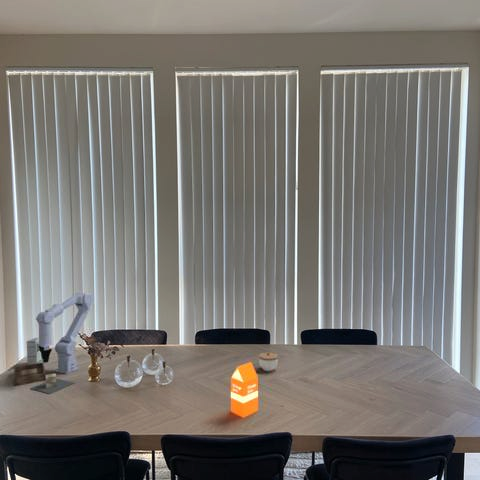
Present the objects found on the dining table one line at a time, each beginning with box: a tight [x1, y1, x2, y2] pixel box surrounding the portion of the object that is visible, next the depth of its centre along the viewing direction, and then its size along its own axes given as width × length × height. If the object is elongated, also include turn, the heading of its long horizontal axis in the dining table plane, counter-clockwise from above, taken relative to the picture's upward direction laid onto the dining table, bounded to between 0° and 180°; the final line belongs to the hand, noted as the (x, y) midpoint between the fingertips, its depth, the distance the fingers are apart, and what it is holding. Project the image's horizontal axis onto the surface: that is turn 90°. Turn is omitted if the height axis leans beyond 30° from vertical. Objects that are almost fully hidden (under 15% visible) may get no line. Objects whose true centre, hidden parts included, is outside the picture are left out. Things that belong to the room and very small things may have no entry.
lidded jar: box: [258, 351, 279, 372], centre depth 209 cm, size 11×11×9 cm
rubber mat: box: [30, 378, 75, 395], centre depth 188 cm, size 14×14×1 cm
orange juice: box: [230, 361, 259, 419], centre depth 160 cm, size 8×9×20 cm
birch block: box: [45, 372, 57, 388], centre depth 188 cm, size 4×4×5 cm
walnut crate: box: [13, 361, 47, 387], centre depth 201 cm, size 14×20×4 cm
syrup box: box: [26, 337, 43, 365], centre depth 221 cm, size 6×6×14 cm
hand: (45, 360), depth 199 cm, fingers open, 7 cm apart
